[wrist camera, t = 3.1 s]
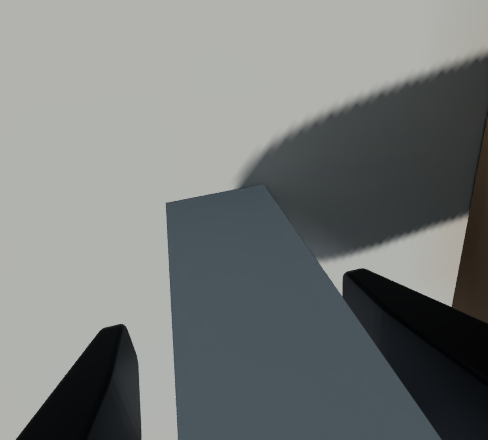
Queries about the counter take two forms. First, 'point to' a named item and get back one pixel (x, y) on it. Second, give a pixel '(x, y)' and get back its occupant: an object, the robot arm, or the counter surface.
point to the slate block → (270, 334)
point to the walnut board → (475, 247)
